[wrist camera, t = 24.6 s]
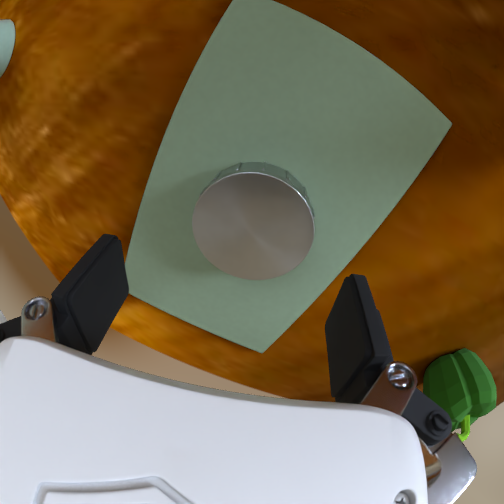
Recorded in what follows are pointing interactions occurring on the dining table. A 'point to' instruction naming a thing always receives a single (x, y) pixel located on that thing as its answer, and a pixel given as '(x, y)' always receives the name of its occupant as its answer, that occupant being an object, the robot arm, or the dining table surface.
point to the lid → (254, 221)
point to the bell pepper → (461, 388)
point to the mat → (277, 163)
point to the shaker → (6, 43)
